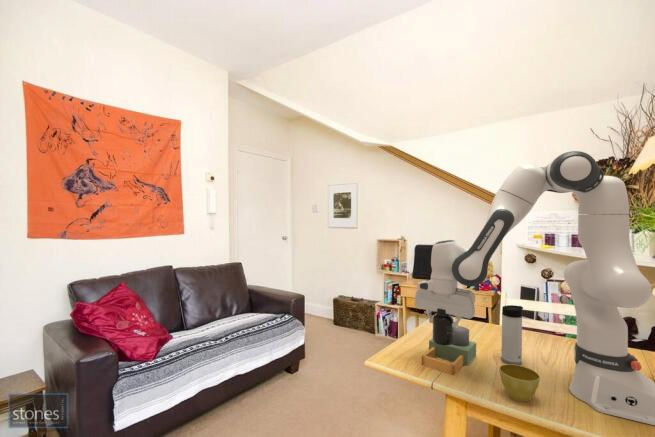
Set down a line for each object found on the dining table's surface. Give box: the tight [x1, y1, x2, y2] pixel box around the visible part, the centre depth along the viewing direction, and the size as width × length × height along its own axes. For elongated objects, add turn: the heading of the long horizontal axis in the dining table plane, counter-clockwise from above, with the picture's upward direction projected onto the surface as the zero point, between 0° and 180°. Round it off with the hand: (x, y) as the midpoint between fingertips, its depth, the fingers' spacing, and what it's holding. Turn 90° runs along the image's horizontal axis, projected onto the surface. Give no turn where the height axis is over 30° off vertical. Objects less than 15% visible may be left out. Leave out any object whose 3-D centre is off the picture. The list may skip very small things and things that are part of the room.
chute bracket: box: [421, 347, 464, 376], centre depth 110 cm, size 11×10×3 cm
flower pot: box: [498, 363, 541, 402], centre depth 91 cm, size 10×10×7 cm
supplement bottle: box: [432, 309, 455, 345], centre depth 110 cm, size 7×7×12 cm
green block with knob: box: [428, 325, 477, 366], centre depth 118 cm, size 14×10×10 cm
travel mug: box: [500, 304, 524, 366], centre depth 113 cm, size 6×7×20 cm
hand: (443, 325), depth 111 cm, fingers closed on supplement bottle, 7 cm apart
